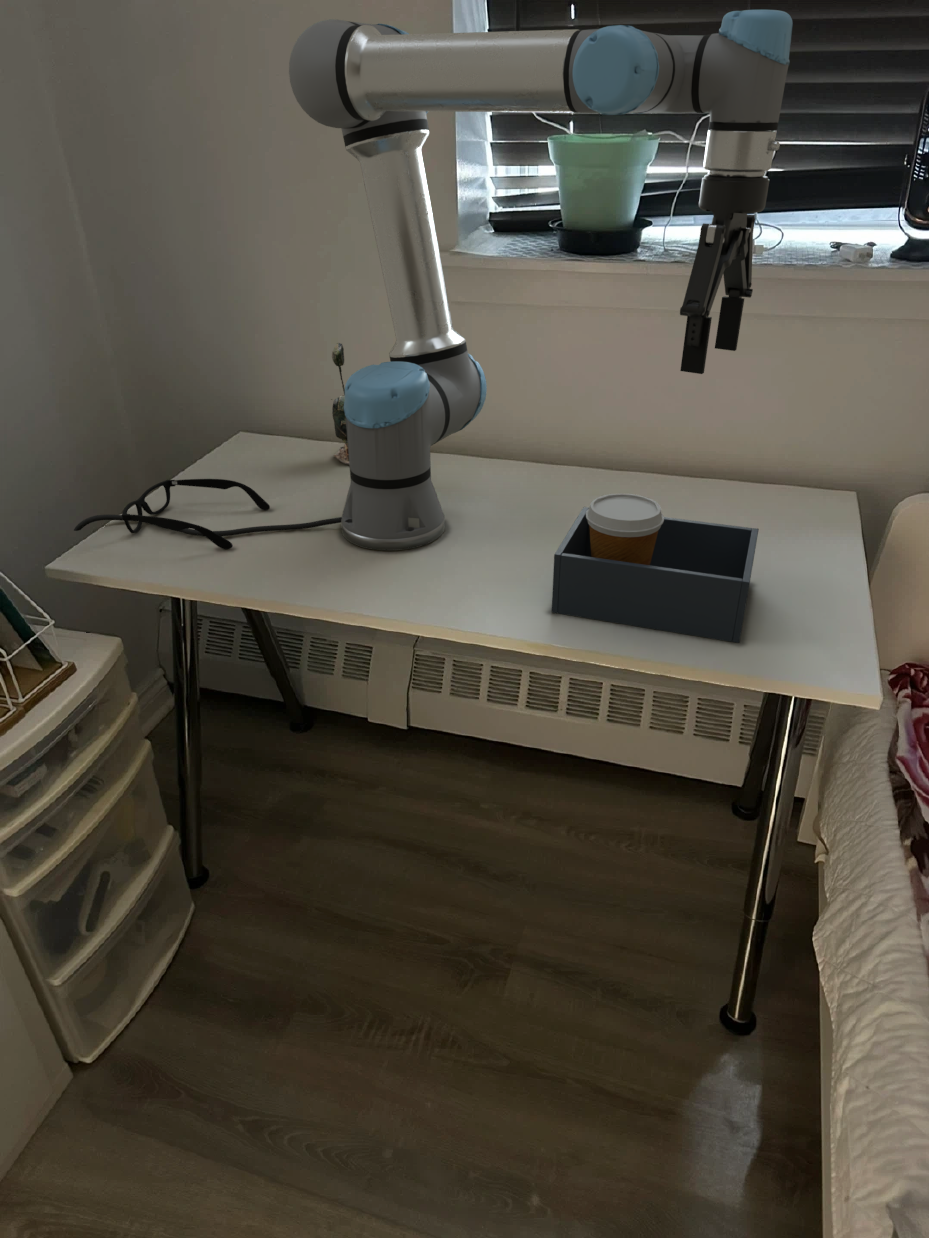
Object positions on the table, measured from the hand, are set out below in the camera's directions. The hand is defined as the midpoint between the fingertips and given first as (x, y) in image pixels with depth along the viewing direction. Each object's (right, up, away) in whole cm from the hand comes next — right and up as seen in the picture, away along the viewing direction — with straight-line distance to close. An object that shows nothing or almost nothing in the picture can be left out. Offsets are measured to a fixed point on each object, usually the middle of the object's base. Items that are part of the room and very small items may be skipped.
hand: (709, 360), depth 113 cm
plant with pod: (-51, -4, +47) cm, 69 cm away
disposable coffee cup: (-11, -30, +2) cm, 32 cm away
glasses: (-72, -19, +22) cm, 77 cm away
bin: (-7, -30, +1) cm, 31 cm away
